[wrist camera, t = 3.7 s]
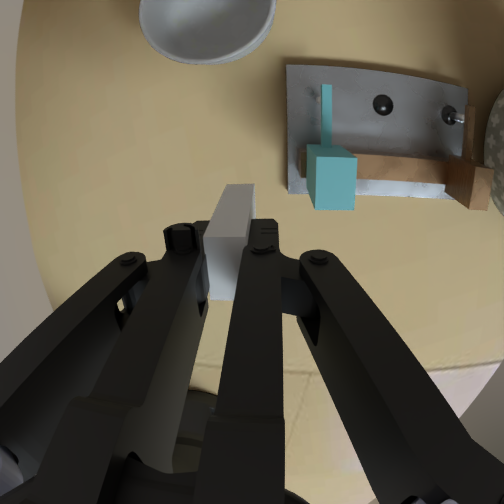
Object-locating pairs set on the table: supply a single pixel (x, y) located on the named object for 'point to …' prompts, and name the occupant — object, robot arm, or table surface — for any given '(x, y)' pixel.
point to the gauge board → (389, 133)
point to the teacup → (206, 28)
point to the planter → (496, 151)
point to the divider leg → (330, 165)
